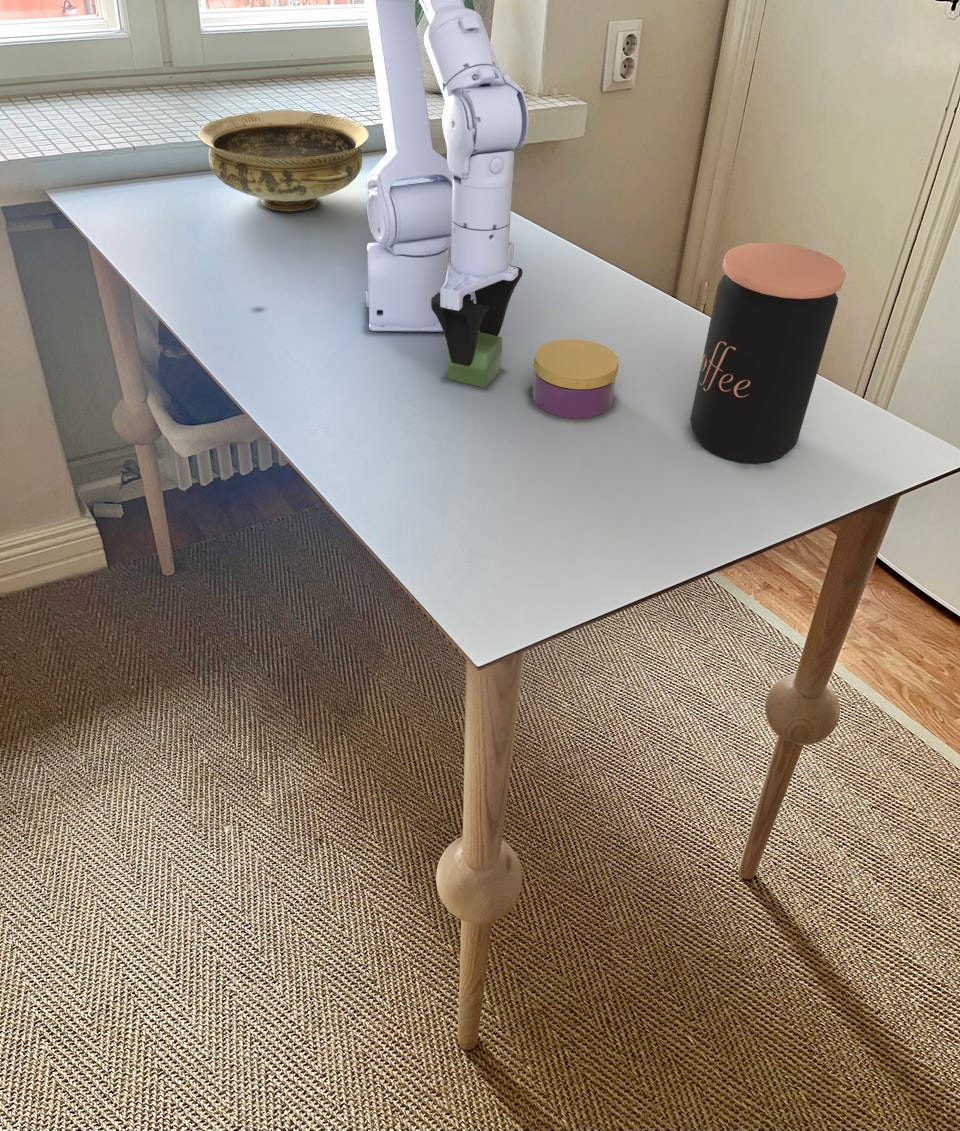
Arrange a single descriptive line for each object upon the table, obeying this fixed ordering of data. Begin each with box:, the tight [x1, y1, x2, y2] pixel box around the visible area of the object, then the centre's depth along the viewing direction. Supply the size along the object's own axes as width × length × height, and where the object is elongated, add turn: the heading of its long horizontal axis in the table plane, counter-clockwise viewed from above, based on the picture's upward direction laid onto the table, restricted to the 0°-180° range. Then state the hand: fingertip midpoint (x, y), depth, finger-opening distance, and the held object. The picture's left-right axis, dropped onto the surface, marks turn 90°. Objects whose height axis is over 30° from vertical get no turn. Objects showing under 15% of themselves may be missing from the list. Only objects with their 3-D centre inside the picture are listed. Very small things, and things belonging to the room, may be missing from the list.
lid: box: [532, 338, 620, 389], centre depth 100 cm, size 9×9×1 cm
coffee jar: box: [689, 241, 847, 465], centre depth 92 cm, size 11×11×18 cm
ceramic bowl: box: [197, 109, 370, 212], centre depth 141 cm, size 30×24×10 cm
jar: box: [531, 370, 616, 420], centre depth 101 cm, size 8×8×4 cm
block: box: [447, 332, 503, 389], centre depth 104 cm, size 4×4×4 cm
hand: (475, 348), depth 103 cm, fingers open, 7 cm apart
